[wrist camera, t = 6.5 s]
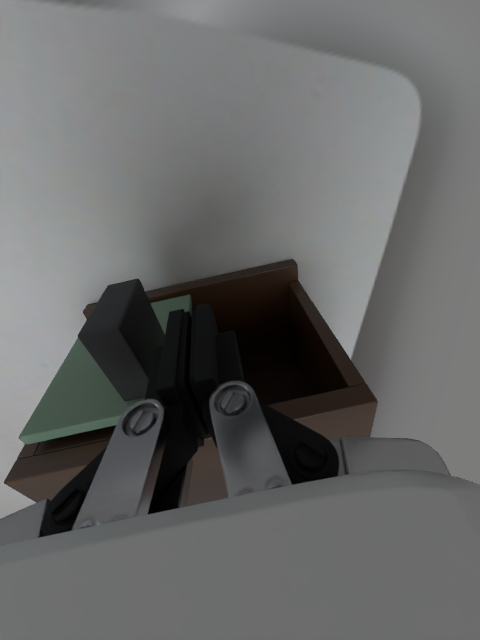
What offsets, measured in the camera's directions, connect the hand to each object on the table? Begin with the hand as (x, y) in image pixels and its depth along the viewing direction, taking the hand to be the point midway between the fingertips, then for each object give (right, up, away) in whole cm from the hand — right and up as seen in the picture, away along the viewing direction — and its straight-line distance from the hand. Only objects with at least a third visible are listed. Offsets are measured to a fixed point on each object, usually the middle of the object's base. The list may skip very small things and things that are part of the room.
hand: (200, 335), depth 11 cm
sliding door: (-6, +3, +7) cm, 9 cm away
